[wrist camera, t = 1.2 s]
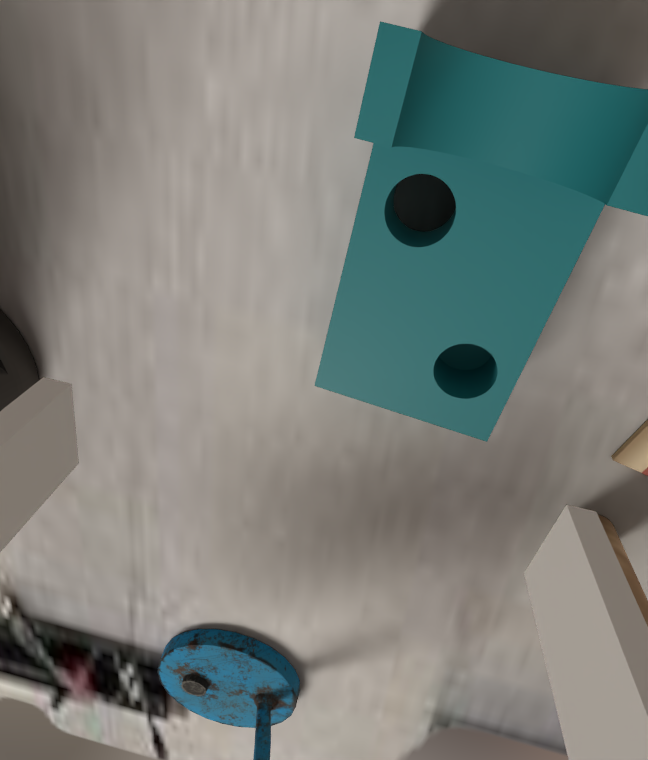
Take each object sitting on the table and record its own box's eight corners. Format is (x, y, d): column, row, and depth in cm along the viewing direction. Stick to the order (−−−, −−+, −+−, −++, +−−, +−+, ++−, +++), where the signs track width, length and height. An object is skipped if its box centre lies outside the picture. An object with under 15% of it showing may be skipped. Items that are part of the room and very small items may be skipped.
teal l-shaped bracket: (410, 49, 26) (380, 21, 17) (623, 102, 24) (711, 101, 16) (333, 351, 35) (287, 435, 26) (484, 398, 34) (490, 503, 25)
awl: (541, 540, 40) (581, 683, 30) (576, 504, 37) (632, 647, 28) (589, 561, 40) (644, 709, 30) (628, 527, 38) (700, 676, 28)
